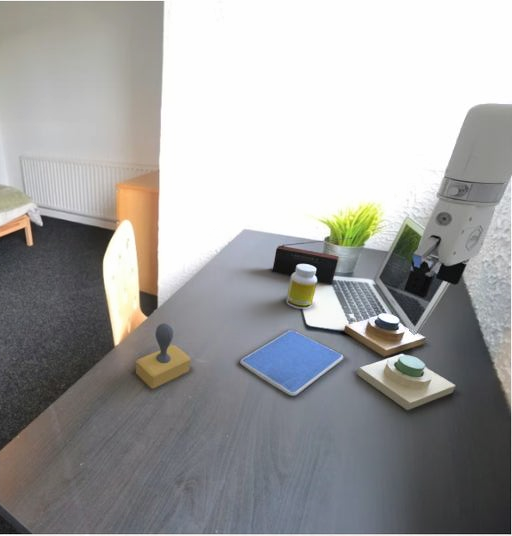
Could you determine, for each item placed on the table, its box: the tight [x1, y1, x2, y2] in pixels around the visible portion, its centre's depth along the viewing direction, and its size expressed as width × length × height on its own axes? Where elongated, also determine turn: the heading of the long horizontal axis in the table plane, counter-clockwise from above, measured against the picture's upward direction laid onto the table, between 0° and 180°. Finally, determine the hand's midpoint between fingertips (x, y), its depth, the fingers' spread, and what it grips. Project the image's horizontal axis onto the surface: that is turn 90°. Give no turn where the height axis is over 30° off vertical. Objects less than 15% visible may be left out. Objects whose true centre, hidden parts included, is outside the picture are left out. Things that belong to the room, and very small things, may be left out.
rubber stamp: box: [135, 322, 191, 389], centre depth 75 cm, size 10×6×12 cm, turn 121°
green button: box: [396, 354, 426, 377], centre depth 71 cm, size 4×4×2 cm
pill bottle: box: [285, 264, 318, 310], centre depth 98 cm, size 6×6×11 cm
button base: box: [343, 315, 426, 357], centre depth 85 cm, size 12×10×4 cm
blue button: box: [376, 312, 401, 331], centre depth 84 cm, size 4×4×2 cm
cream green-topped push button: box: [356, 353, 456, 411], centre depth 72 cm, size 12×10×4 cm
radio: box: [271, 237, 353, 286], centre depth 110 cm, size 19×3×15 cm, turn 55°
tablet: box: [240, 329, 344, 397], centre depth 79 cm, size 19×13×1 cm, turn 125°
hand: (431, 287), depth 65 cm, fingers open, 9 cm apart
